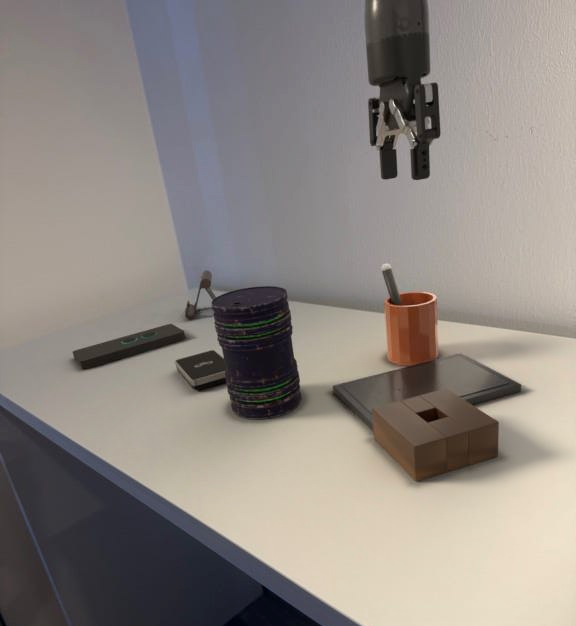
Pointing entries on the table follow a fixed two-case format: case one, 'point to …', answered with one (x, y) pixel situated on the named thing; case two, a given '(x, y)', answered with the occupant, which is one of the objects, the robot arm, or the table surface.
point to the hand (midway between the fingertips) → (404, 179)
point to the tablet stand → (205, 284)
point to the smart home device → (128, 345)
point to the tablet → (425, 384)
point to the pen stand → (435, 433)
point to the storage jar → (258, 351)
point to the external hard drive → (202, 369)
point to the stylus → (391, 285)
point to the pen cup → (412, 328)
